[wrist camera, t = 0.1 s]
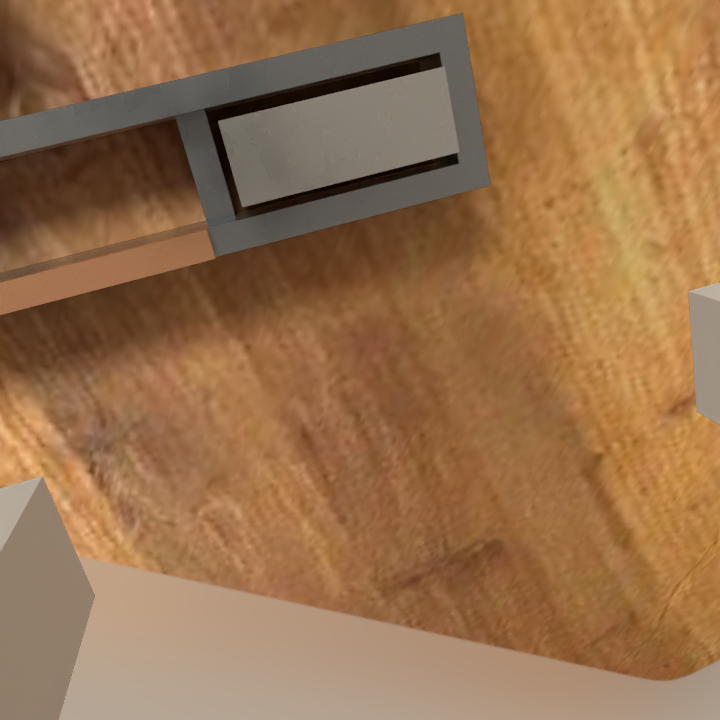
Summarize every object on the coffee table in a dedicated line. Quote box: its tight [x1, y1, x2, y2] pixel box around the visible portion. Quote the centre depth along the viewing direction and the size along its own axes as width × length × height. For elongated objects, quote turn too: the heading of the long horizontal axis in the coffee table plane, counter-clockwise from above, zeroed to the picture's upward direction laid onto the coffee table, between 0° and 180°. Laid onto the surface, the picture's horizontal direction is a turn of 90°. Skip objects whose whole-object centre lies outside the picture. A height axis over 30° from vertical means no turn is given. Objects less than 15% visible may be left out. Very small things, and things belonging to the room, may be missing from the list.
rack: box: [0, 13, 490, 315], centre depth 35 cm, size 8×35×6 cm, turn 103°
